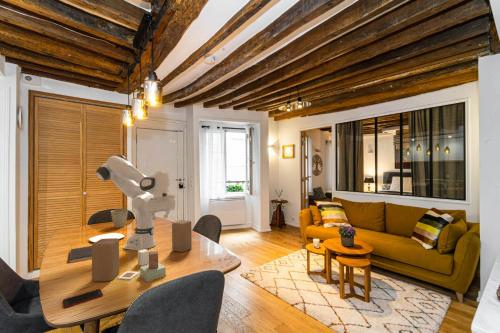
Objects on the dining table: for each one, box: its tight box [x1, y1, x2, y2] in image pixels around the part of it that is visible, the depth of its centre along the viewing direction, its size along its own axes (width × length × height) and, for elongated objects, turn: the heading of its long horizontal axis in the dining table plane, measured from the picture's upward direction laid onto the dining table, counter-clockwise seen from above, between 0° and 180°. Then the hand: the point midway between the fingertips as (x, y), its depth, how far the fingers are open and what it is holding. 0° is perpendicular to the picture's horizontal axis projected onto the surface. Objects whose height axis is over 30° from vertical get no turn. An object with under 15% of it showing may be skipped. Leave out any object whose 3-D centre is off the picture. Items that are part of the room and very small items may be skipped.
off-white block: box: [137, 249, 150, 267], centre depth 148 cm, size 4×4×8 cm
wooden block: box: [91, 238, 120, 283], centre depth 131 cm, size 10×10×20 cm
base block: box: [139, 261, 167, 283], centre depth 133 cm, size 10×10×5 cm
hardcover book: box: [68, 245, 92, 264], centre depth 164 cm, size 16×23×2 cm
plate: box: [88, 232, 126, 243], centre depth 197 cm, size 23×23×2 cm
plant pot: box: [110, 208, 129, 229], centre depth 235 cm, size 15×15×16 cm
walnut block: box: [148, 250, 159, 270], centre depth 133 cm, size 4×4×8 cm
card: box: [116, 270, 140, 281], centre depth 132 cm, size 8×8×1 cm
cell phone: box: [62, 288, 104, 309], centre depth 110 cm, size 8×15×1 cm, turn 131°
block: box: [171, 219, 193, 253], centre depth 172 cm, size 10×10×20 cm
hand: (159, 218), depth 147 cm, fingers open, 8 cm apart
